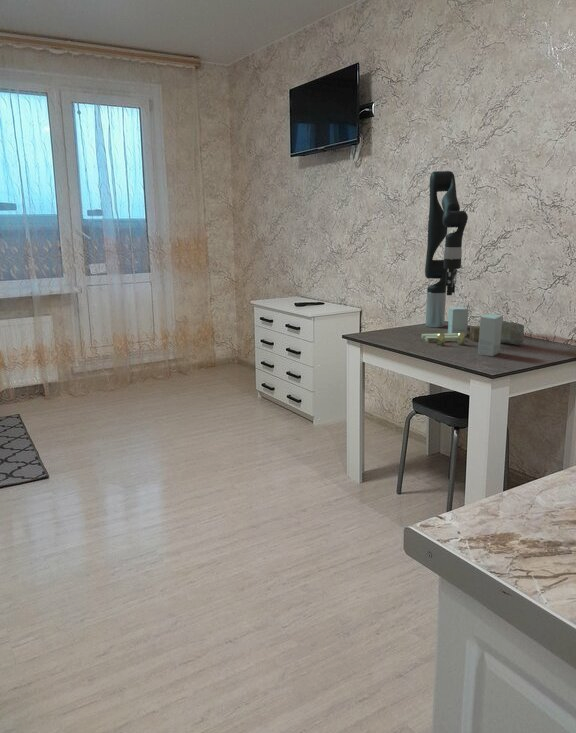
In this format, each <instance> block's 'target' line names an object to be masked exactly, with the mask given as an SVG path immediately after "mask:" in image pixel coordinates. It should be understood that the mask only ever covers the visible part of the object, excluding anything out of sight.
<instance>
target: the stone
mask: <svg viewBox="0 0 576 733" xmlns="http://www.w3.org/2000/svg"><path fill="white" fill-rule="evenodd" d="M524 330H525V325H523V324H521V323H517V322H510V321H506V320H502V330H501V342H500V344H501V343H502V344H512V345H514V346H519V345H522V344H523V343H524V340H525V338H524V337H525V336H524V335H525V334H524Z"/></svg>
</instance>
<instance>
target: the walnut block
mask: <svg viewBox="0 0 576 733" xmlns="http://www.w3.org/2000/svg"><path fill="white" fill-rule="evenodd" d="M469 327H470V328H469V340H470V341H472V342H479V332H480V325H473V326H471V325H470V326H469Z"/></svg>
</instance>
